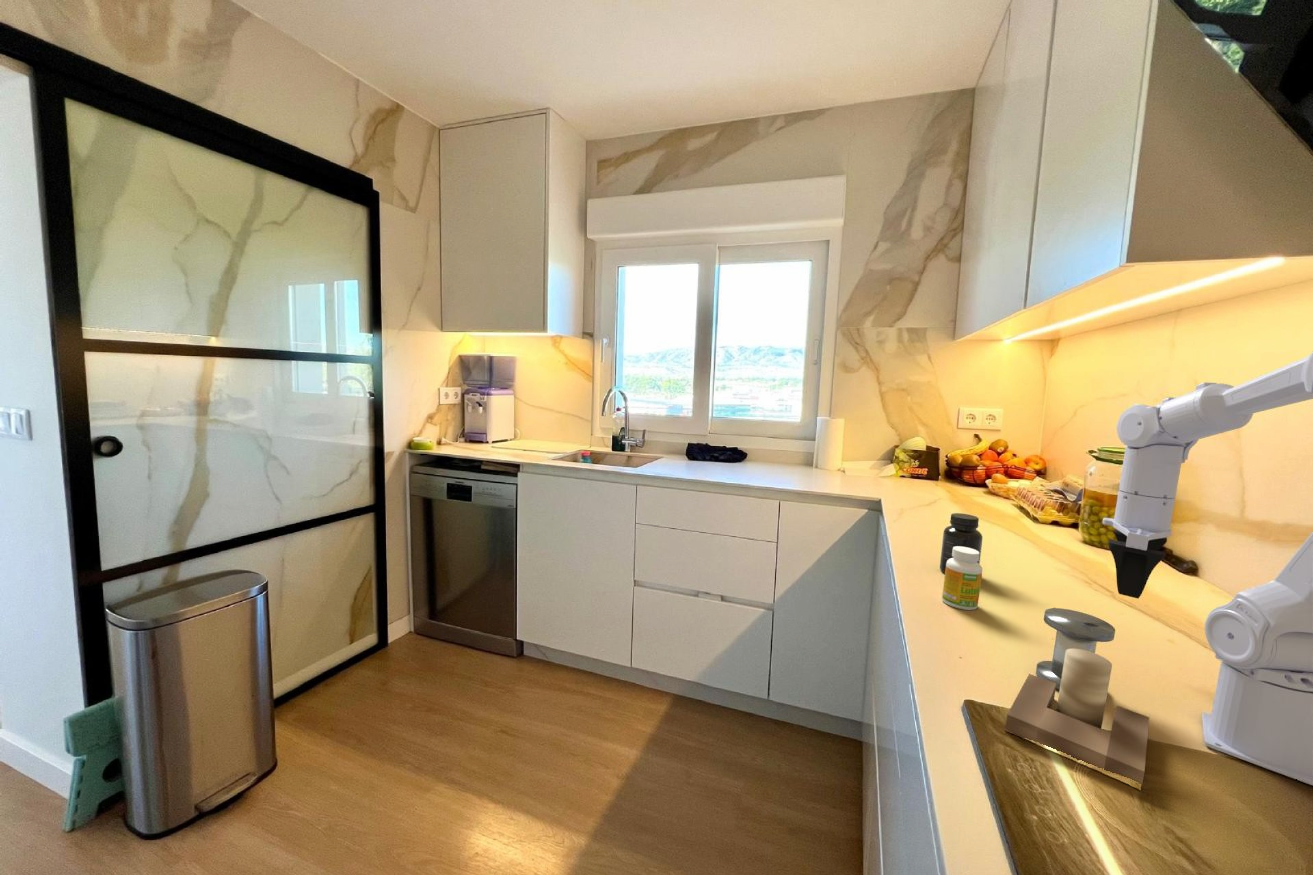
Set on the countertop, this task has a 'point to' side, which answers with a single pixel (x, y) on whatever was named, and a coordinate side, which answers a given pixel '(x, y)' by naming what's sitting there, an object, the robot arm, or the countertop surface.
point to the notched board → (1080, 731)
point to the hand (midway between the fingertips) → (1130, 588)
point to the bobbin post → (1071, 638)
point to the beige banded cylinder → (1084, 686)
